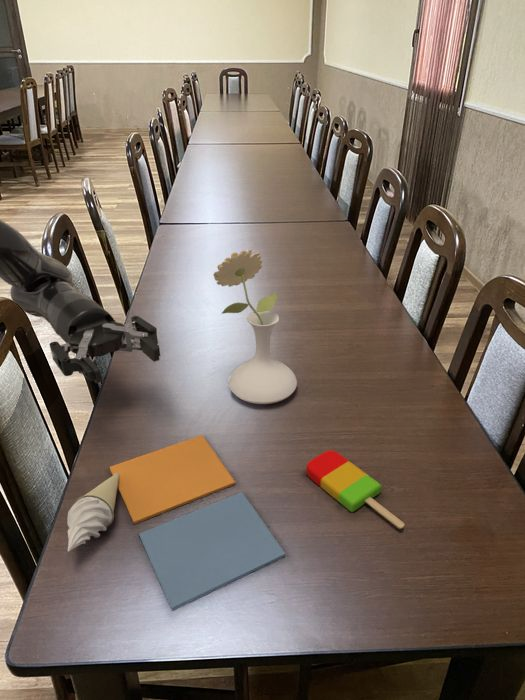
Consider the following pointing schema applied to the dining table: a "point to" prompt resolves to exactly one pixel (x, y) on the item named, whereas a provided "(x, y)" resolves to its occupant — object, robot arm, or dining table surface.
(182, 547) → the slate pad
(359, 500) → the popsicle
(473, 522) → the dining table surface
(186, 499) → the caramel pad
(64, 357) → the robot arm
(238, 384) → the flower in vase
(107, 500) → the ice cream cone
